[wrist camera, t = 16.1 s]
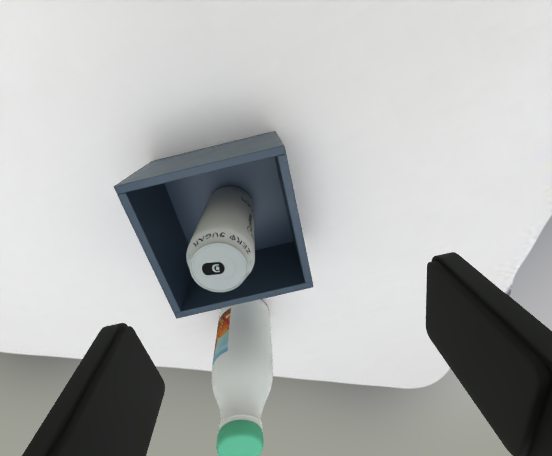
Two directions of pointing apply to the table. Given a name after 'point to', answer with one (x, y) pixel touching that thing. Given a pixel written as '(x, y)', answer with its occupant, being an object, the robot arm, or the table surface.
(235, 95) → the table surface
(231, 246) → the energy drink can
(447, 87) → the table surface
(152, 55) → the table surface
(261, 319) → the milk bottle
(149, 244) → the open storage box
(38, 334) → the table surface
